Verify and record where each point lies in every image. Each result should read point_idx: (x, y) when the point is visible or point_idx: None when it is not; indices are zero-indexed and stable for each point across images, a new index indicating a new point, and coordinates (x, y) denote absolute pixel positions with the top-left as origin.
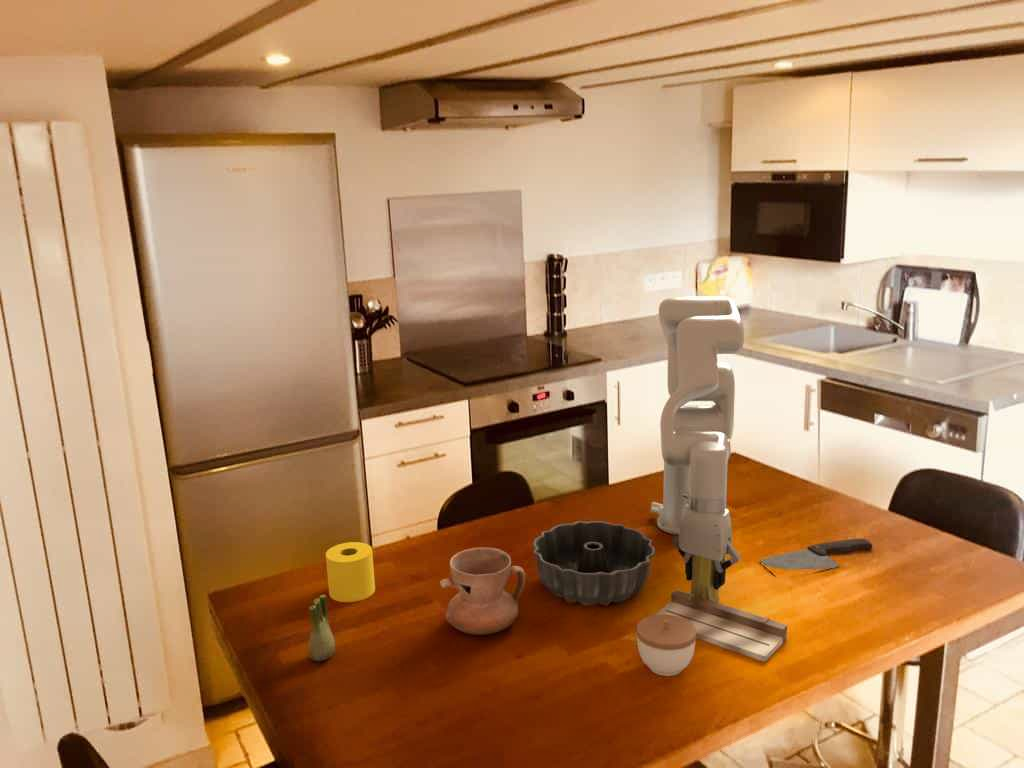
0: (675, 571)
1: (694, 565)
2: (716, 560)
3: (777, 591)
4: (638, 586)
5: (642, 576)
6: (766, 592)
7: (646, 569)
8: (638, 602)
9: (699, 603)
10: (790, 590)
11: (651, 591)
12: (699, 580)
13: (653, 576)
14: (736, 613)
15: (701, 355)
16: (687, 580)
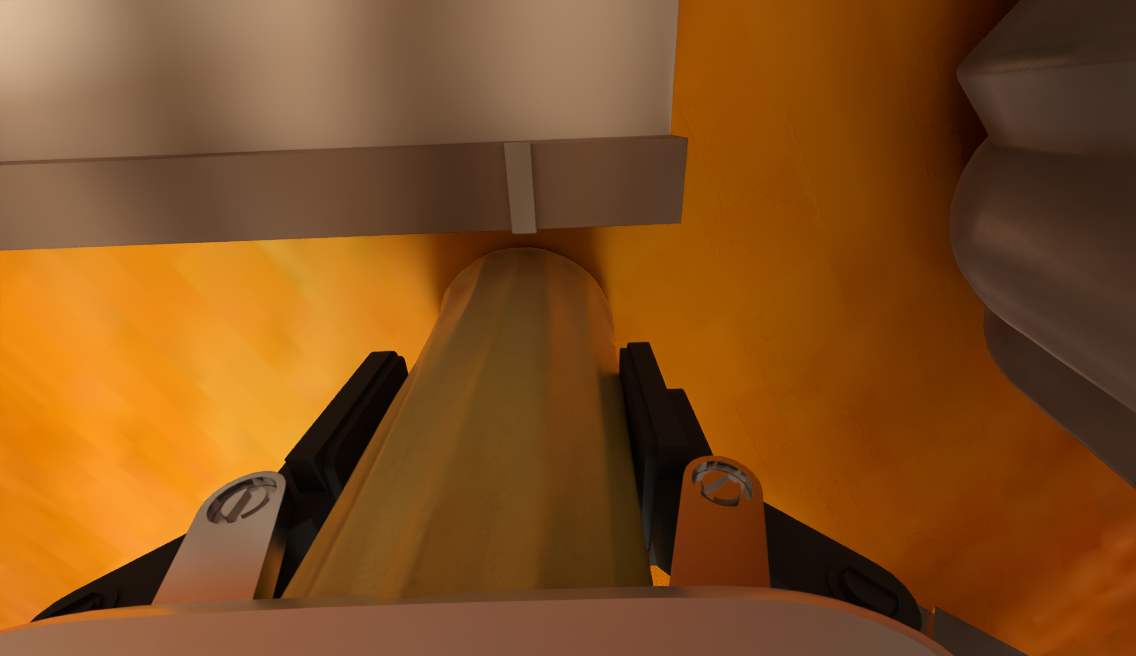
0: (793, 480)
1: (563, 439)
2: (7, 629)
3: None
4: (1032, 10)
5: (1123, 18)
6: None
7: (1088, 207)
8: (900, 27)
9: (416, 149)
10: None
11: (851, 236)
12: (491, 332)
13: (888, 387)
14: (86, 177)
15: None
16: (638, 342)
